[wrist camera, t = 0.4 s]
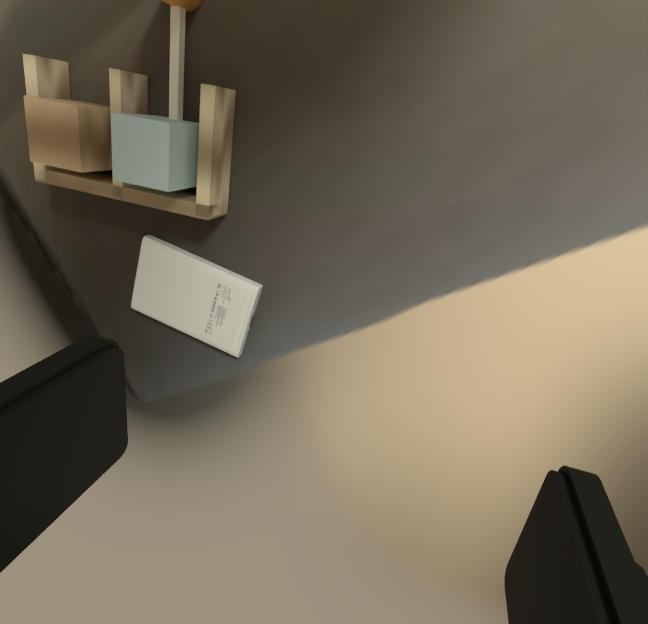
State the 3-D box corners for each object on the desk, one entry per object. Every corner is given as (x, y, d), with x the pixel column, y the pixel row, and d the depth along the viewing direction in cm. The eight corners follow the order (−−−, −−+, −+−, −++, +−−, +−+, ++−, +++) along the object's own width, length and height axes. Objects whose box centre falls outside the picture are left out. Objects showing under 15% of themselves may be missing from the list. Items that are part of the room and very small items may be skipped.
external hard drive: (152, 232, 44) (265, 283, 43) (139, 303, 48) (243, 352, 46) (142, 236, 43) (258, 288, 41) (129, 309, 46) (236, 359, 45)
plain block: (80, 101, 41) (23, 95, 35) (128, 110, 40) (77, 105, 34) (83, 158, 43) (30, 161, 37) (129, 168, 42) (81, 172, 36)
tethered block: (159, -38, 35) (104, -70, 29) (217, -31, 34) (172, -63, 28) (157, 174, 41) (112, 179, 36) (206, 184, 40) (168, 192, 35)
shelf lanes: (56, 60, 40) (22, 53, 37) (236, 90, 37) (215, 85, 33) (65, 177, 44) (35, 180, 41) (227, 213, 41) (208, 220, 37)
